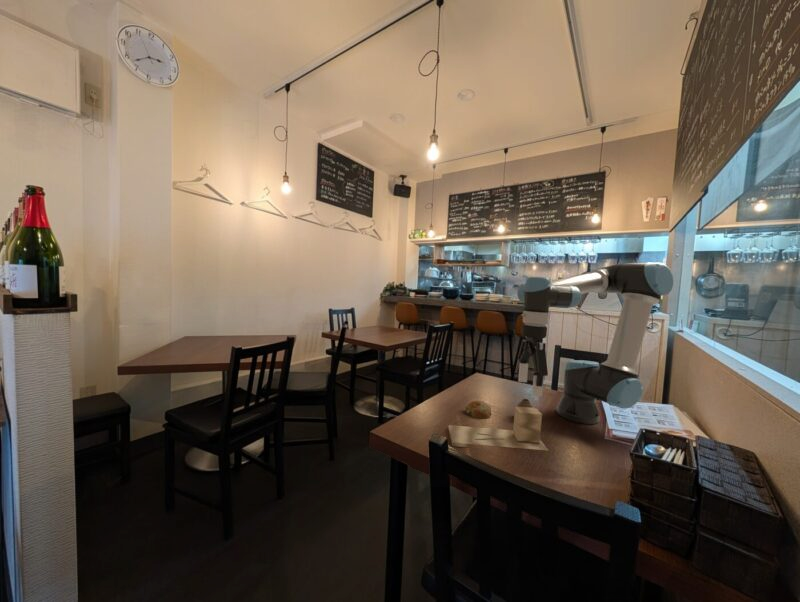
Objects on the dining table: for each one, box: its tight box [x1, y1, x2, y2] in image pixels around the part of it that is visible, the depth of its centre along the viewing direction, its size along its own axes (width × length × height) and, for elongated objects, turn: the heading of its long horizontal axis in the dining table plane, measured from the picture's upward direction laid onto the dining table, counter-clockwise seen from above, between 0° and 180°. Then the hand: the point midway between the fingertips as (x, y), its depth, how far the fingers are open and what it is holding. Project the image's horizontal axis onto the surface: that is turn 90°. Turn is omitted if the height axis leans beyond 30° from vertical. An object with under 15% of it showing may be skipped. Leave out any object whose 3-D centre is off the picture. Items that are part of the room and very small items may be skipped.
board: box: [448, 424, 549, 451], centre depth 104 cm, size 30×12×1 cm, turn 87°
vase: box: [516, 398, 534, 408], centre depth 119 cm, size 7×7×9 cm
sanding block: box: [512, 405, 543, 444], centre depth 103 cm, size 7×5×10 cm
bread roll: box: [464, 400, 492, 420], centre depth 122 cm, size 10×10×8 cm
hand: (529, 388), depth 102 cm, fingers open, 13 cm apart
